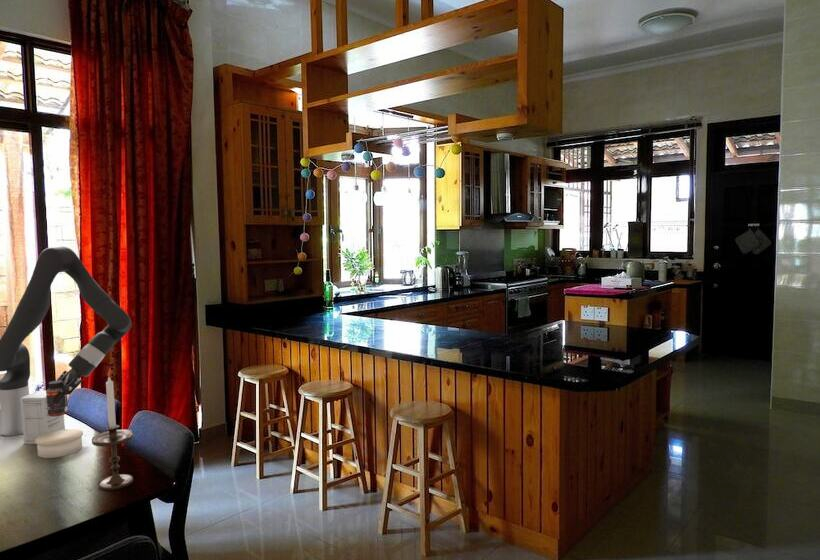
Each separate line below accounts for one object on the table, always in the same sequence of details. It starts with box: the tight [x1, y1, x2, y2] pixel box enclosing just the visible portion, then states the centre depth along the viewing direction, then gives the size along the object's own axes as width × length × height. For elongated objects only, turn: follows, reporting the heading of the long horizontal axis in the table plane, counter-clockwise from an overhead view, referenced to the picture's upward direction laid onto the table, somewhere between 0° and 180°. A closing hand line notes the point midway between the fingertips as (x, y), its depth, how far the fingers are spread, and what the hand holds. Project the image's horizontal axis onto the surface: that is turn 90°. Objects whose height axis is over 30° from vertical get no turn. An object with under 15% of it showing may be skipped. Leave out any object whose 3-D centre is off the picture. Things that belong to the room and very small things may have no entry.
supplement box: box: [20, 390, 66, 445], centre depth 207 cm, size 10×9×17 cm
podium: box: [35, 428, 84, 459], centre depth 196 cm, size 14×14×5 cm
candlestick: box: [91, 367, 135, 492], centre depth 168 cm, size 11×11×35 cm
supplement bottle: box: [45, 380, 69, 417], centre depth 195 cm, size 6×6×11 cm
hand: (51, 400), depth 194 cm, fingers closed on supplement bottle, 6 cm apart
